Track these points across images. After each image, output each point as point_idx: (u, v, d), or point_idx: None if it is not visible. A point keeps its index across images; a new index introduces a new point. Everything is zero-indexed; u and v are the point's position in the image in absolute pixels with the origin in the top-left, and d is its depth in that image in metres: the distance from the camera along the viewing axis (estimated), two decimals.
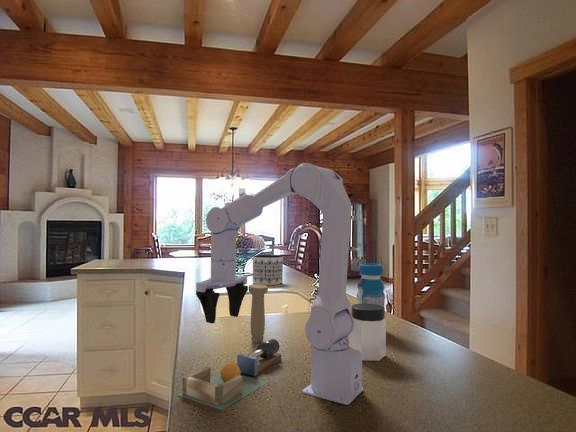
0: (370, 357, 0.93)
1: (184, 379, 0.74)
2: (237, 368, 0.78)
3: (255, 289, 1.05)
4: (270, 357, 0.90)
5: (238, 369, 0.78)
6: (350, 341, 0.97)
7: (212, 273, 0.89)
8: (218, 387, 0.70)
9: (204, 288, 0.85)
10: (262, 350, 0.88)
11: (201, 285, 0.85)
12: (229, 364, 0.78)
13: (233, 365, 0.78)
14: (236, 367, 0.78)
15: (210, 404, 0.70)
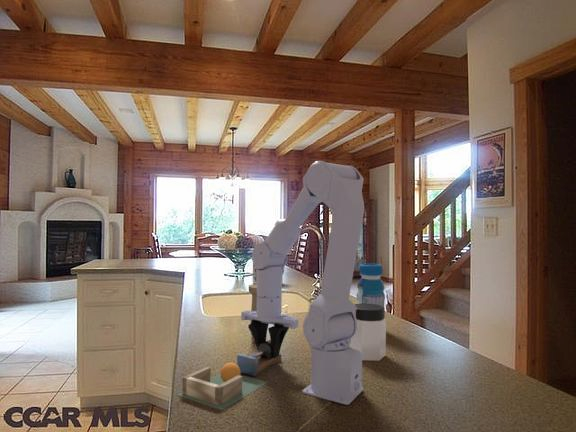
0: (370, 357, 0.93)
1: (184, 379, 0.74)
2: (237, 368, 0.78)
3: (255, 289, 1.05)
4: (270, 357, 0.90)
5: (238, 369, 0.78)
6: None
7: None
8: (218, 387, 0.70)
9: (243, 317, 0.93)
10: (262, 350, 0.88)
11: None
12: (229, 364, 0.78)
13: (233, 365, 0.78)
14: (236, 367, 0.78)
15: (210, 404, 0.70)
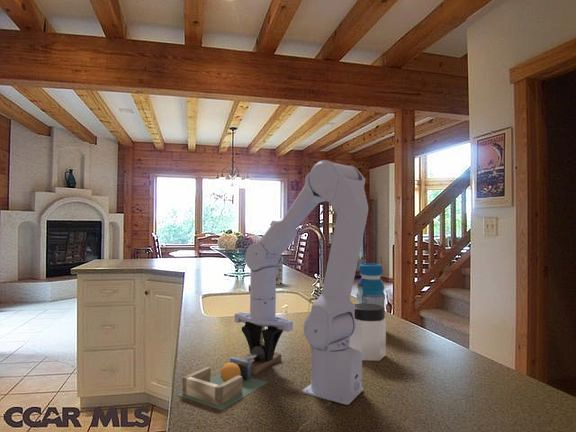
0: (370, 357, 0.93)
1: (184, 379, 0.74)
2: (237, 368, 0.78)
3: None
4: None
5: (238, 369, 0.78)
6: (350, 341, 0.97)
7: None
8: (218, 387, 0.70)
9: (236, 319, 0.91)
10: (256, 353, 0.86)
11: None
12: (229, 364, 0.78)
13: (233, 365, 0.78)
14: (236, 367, 0.78)
15: (210, 404, 0.70)
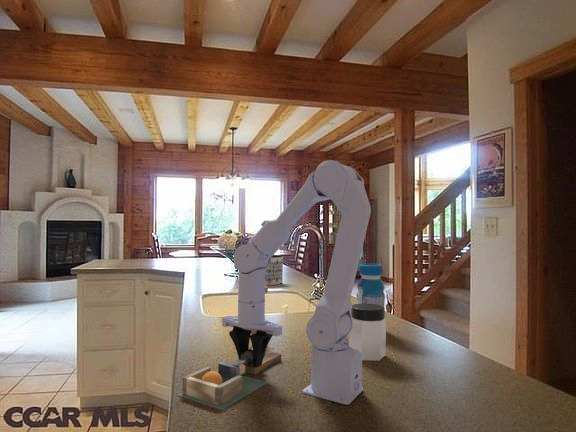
0: (370, 357, 0.93)
1: (184, 379, 0.74)
2: None
3: None
4: (270, 357, 0.90)
5: None
6: (350, 341, 0.97)
7: None
8: (218, 387, 0.70)
9: (224, 323, 0.87)
10: (245, 358, 0.83)
11: None
12: None
13: None
14: None
15: (210, 404, 0.70)
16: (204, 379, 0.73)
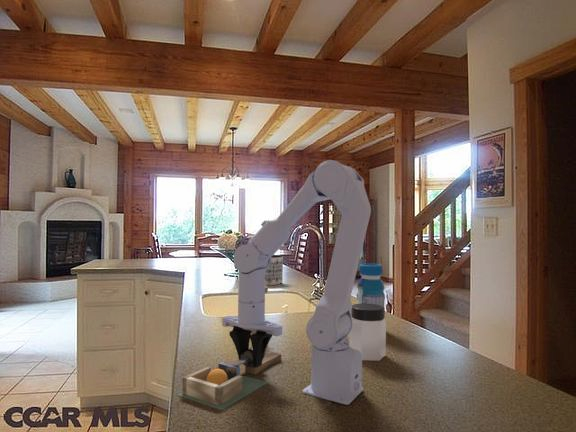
0: (370, 357, 0.93)
1: (184, 379, 0.74)
2: (219, 384, 0.74)
3: None
4: (270, 357, 0.90)
5: (220, 383, 0.74)
6: (350, 341, 0.97)
7: None
8: (218, 387, 0.70)
9: (224, 323, 0.87)
10: (245, 358, 0.83)
11: None
12: None
13: None
14: None
15: (210, 404, 0.70)
16: (214, 370, 0.75)
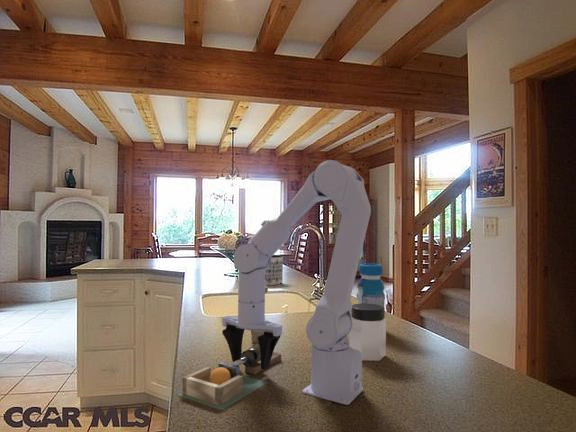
0: (370, 357, 0.93)
1: (184, 379, 0.74)
2: (222, 380, 0.74)
3: None
4: None
5: (224, 379, 0.75)
6: (350, 341, 0.97)
7: None
8: (218, 387, 0.70)
9: (224, 323, 0.87)
10: (245, 358, 0.83)
11: None
12: (213, 383, 0.74)
13: (217, 382, 0.74)
14: (221, 381, 0.74)
15: (210, 404, 0.70)
16: (220, 367, 0.77)
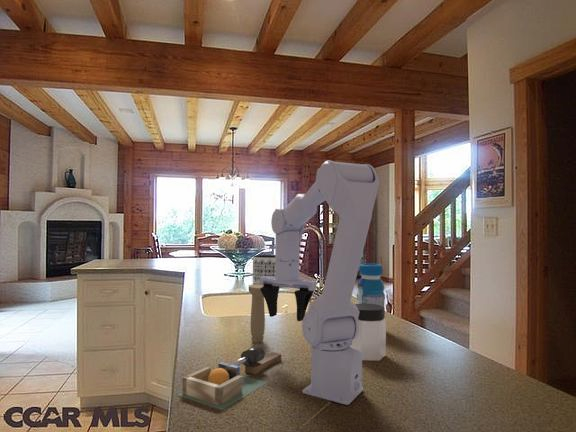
0: (370, 357, 0.93)
1: (184, 379, 0.74)
2: (220, 382, 0.74)
3: (255, 289, 1.05)
4: (270, 357, 0.90)
5: (222, 381, 0.74)
6: None
7: None
8: (218, 387, 0.70)
9: (261, 281, 0.96)
10: (245, 358, 0.83)
11: None
12: None
13: None
14: (219, 383, 0.74)
15: (210, 404, 0.70)
16: (217, 368, 0.76)
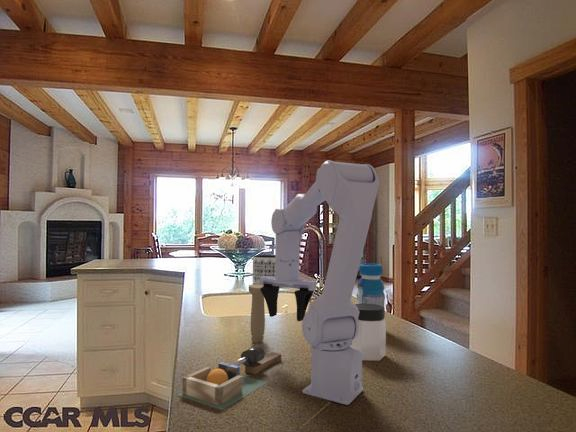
0: (370, 357, 0.93)
1: (184, 379, 0.74)
2: (219, 384, 0.74)
3: (255, 289, 1.05)
4: (270, 357, 0.90)
5: (220, 383, 0.74)
6: None
7: None
8: (218, 387, 0.70)
9: (261, 281, 0.96)
10: (245, 358, 0.83)
11: None
12: None
13: None
14: None
15: (210, 404, 0.70)
16: (214, 370, 0.75)
